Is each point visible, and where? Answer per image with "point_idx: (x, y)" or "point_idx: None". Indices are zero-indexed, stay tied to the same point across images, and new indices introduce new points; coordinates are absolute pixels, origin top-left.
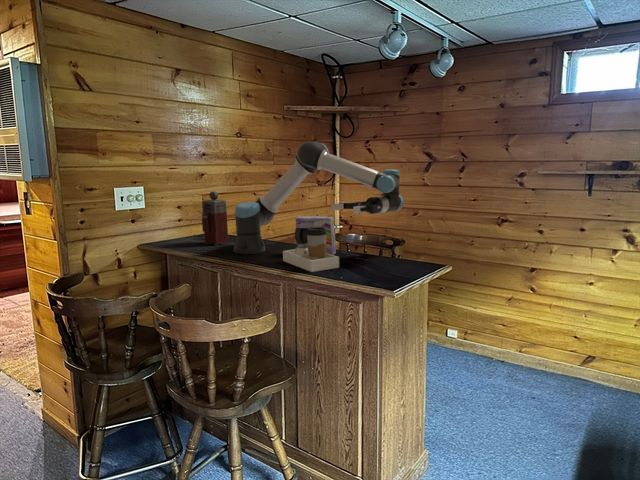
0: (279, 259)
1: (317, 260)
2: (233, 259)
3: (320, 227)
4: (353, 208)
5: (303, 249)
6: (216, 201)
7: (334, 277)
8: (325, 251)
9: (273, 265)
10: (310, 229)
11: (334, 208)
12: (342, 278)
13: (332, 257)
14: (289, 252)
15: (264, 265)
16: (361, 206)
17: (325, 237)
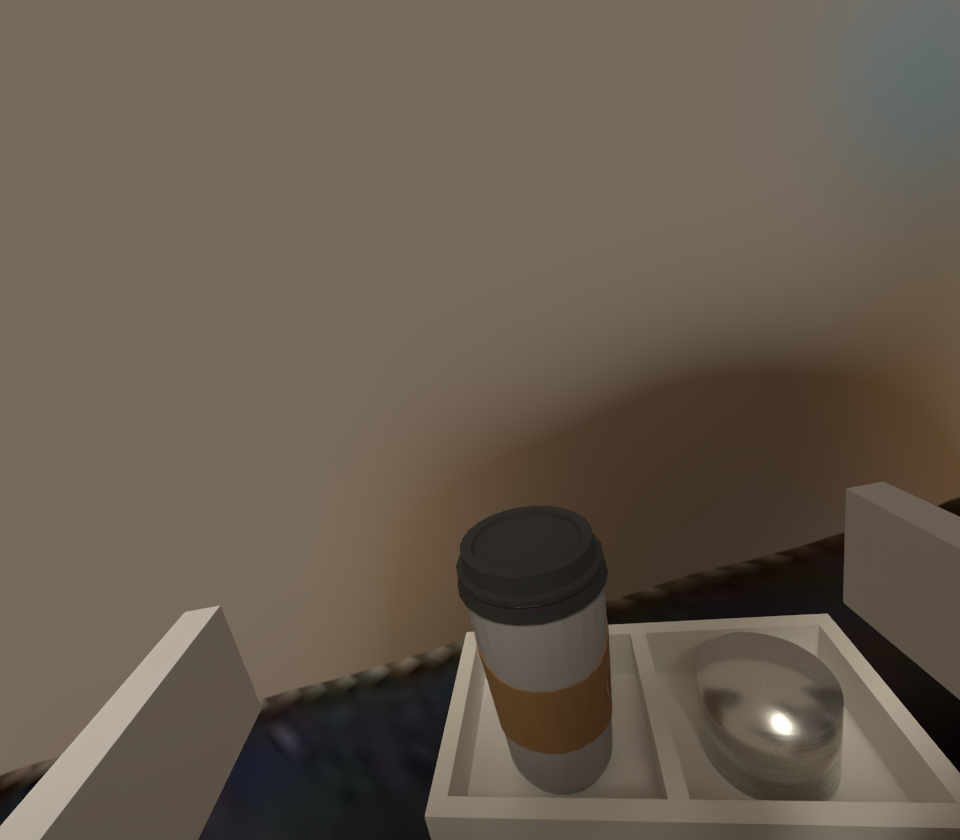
0: (892, 667)
1: (460, 661)
2: None
3: (551, 564)
4: (229, 633)
5: (703, 660)
6: None
7: (319, 713)
8: (506, 716)
9: (713, 604)
10: (519, 511)
11: (890, 601)
12: (274, 732)
13: (445, 761)
14: (756, 625)
15: (728, 580)
16: (2, 832)
17: (475, 624)
